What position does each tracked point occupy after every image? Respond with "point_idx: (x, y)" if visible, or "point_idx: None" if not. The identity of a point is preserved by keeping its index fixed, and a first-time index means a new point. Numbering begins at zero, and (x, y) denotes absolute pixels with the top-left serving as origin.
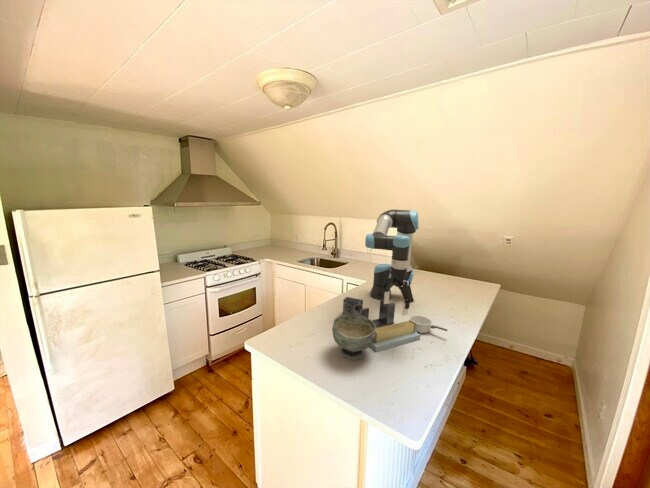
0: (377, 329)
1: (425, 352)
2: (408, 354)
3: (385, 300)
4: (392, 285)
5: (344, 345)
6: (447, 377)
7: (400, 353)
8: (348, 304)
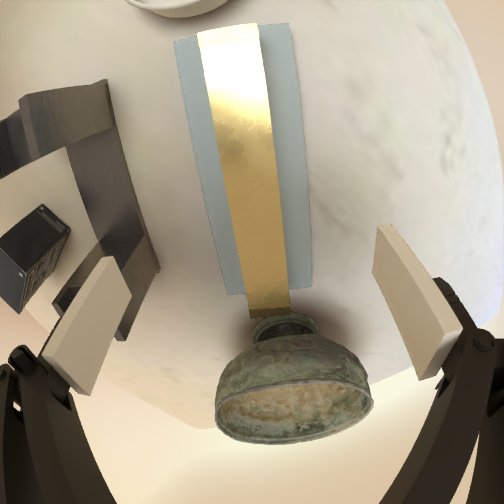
0: (257, 289)
1: (388, 90)
2: (373, 169)
3: (116, 316)
4: (84, 490)
5: (330, 406)
6: (493, 148)
7: (354, 195)
8: (29, 293)
